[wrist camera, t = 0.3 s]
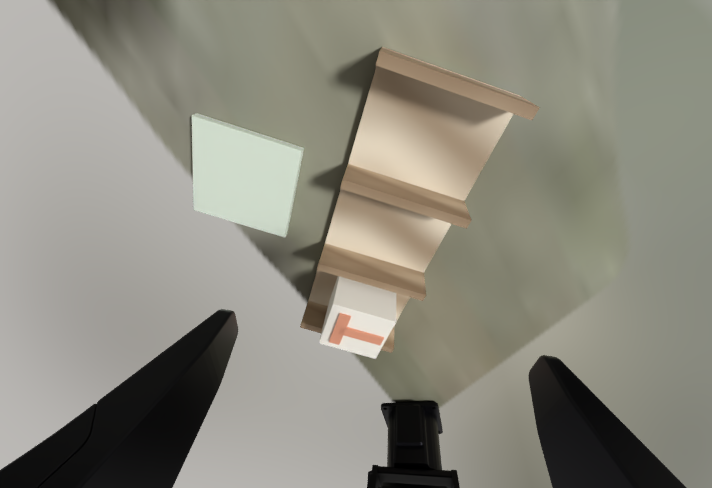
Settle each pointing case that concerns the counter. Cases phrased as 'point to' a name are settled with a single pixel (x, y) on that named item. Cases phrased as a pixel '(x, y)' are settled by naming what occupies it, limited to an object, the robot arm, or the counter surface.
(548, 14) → the counter surface
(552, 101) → the counter surface
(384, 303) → the letter cube
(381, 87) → the slot rack
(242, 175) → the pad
